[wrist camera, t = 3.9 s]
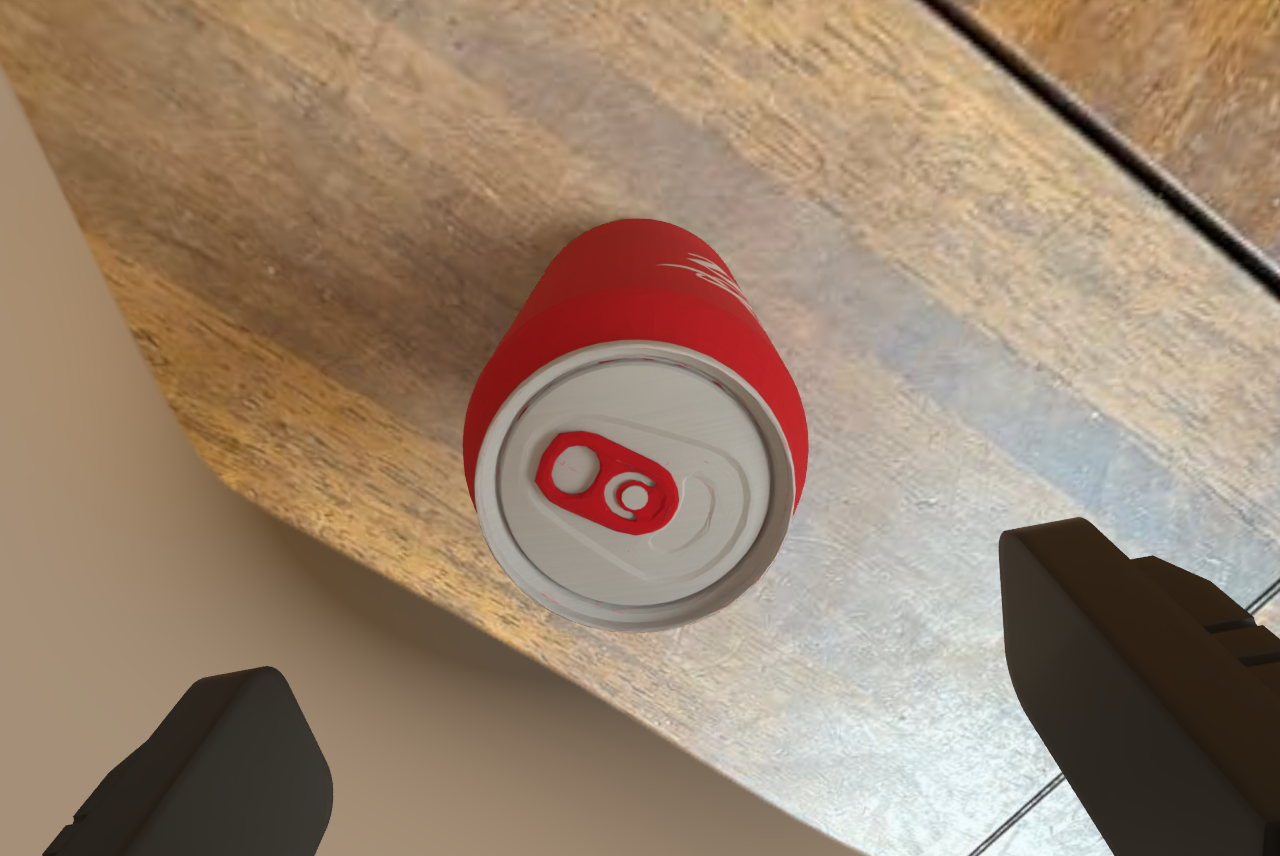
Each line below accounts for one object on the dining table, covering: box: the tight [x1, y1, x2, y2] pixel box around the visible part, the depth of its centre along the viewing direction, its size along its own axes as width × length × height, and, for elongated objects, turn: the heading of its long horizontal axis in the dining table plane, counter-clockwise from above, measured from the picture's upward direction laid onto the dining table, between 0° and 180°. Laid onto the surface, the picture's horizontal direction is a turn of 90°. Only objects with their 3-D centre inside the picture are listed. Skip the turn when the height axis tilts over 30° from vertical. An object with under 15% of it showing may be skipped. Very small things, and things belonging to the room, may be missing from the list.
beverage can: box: [463, 219, 808, 633], centre depth 18 cm, size 6×6×12 cm
